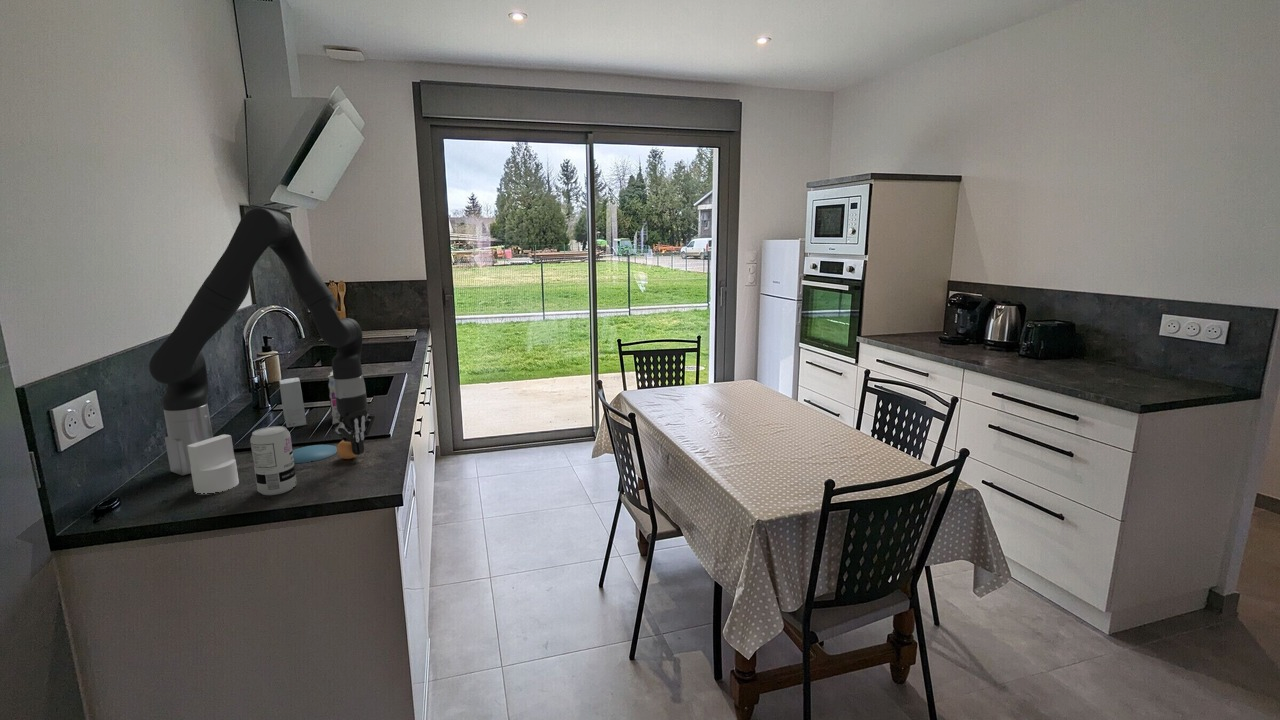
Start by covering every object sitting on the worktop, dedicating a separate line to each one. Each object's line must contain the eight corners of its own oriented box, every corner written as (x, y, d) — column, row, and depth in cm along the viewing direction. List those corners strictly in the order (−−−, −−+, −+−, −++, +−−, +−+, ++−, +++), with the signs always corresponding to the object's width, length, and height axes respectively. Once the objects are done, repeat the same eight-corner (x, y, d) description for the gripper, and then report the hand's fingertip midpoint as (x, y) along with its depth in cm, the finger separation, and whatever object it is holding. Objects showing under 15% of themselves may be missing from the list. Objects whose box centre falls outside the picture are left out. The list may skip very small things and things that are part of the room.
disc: (302, 466, 157) (301, 465, 157) (271, 457, 164) (270, 457, 164) (348, 450, 169) (348, 449, 169) (318, 442, 176) (318, 441, 176)
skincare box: (307, 425, 192) (301, 381, 189) (285, 428, 189) (279, 383, 186) (304, 418, 199) (299, 376, 196) (284, 421, 196) (278, 378, 193)
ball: (345, 442, 159) (329, 443, 161) (350, 461, 160) (334, 462, 161) (360, 435, 164) (345, 436, 166) (365, 454, 165) (350, 455, 167)
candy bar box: (349, 423, 194) (343, 375, 191) (332, 425, 192) (326, 376, 189) (352, 414, 204) (347, 368, 201) (336, 415, 203) (331, 369, 199)
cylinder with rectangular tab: (223, 477, 151) (216, 432, 148) (247, 482, 147) (240, 437, 145) (185, 491, 142) (177, 444, 140) (210, 496, 139) (202, 448, 137)
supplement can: (254, 489, 143) (245, 430, 140) (291, 479, 149) (284, 423, 146) (262, 499, 138) (253, 438, 135) (301, 489, 143) (293, 430, 140)
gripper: (357, 386, 165) (365, 444, 169) (319, 398, 153) (328, 461, 156) (379, 387, 163) (387, 446, 166) (342, 400, 151) (351, 463, 154)
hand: (358, 453), depth 161 cm, fingers closed
